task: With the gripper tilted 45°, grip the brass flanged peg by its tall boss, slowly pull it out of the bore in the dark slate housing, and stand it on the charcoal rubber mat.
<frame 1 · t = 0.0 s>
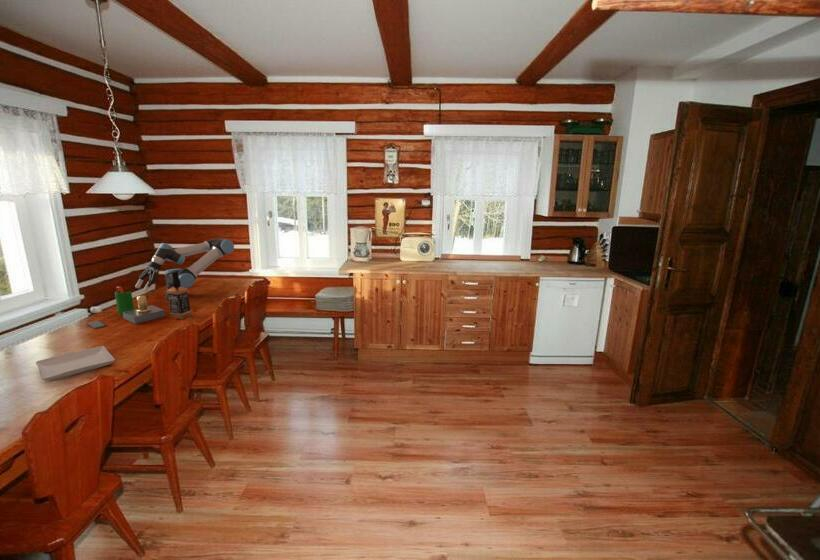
hand: (141, 289, 277), 15 cm above the table, tool tilted 35°, fingers open, 13 cm apart
brass flanged peg: (144, 317, 260), point 1 cm above the table, touching slate housing
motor: (126, 313, 272), on the table
slate housing: (145, 319, 260), on the table
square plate: (77, 367, 194), on the table
whiskey bottle: (181, 317, 265), on the table
charcoal mat: (103, 323, 252), on the table
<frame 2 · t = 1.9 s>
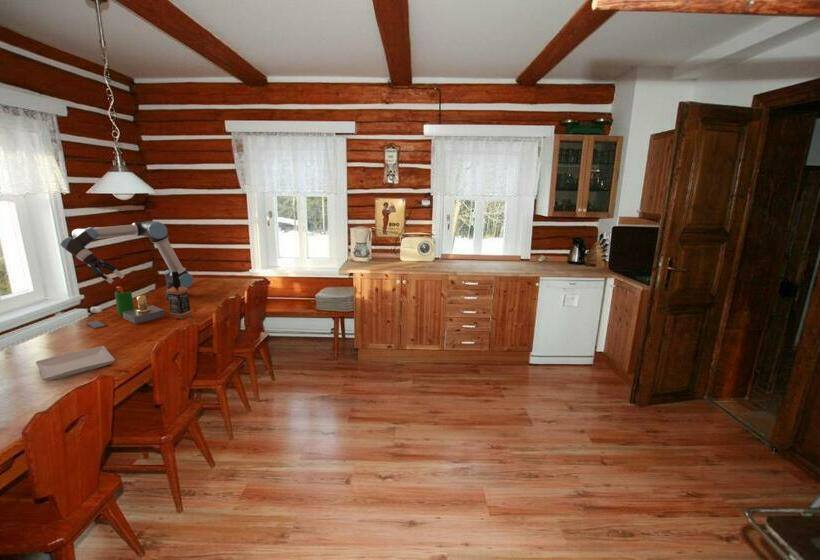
hand: (117, 279, 252), 28 cm above the table, tool tilted 45°, fingers open, 13 cm apart
nothing on the table moved.
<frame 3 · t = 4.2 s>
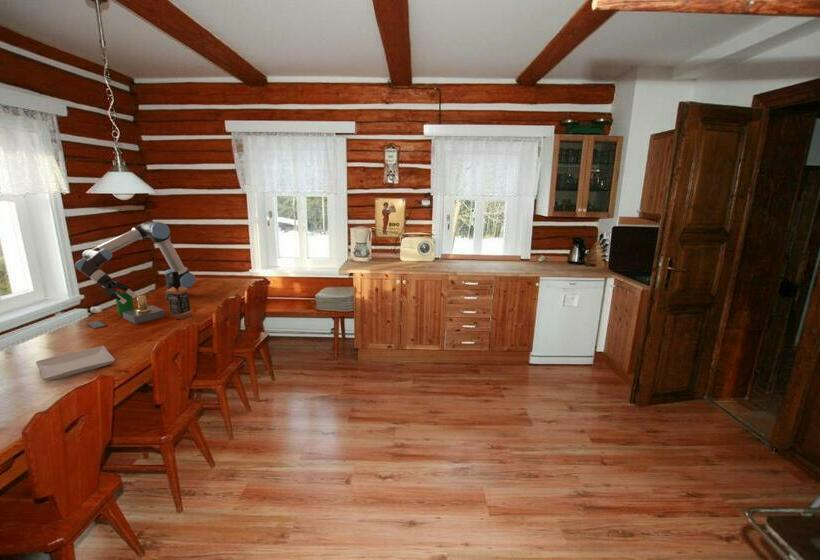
hand: (130, 299, 255), 14 cm above the table, tool tilted 45°, fingers open, 13 cm apart
nothing on the table moved.
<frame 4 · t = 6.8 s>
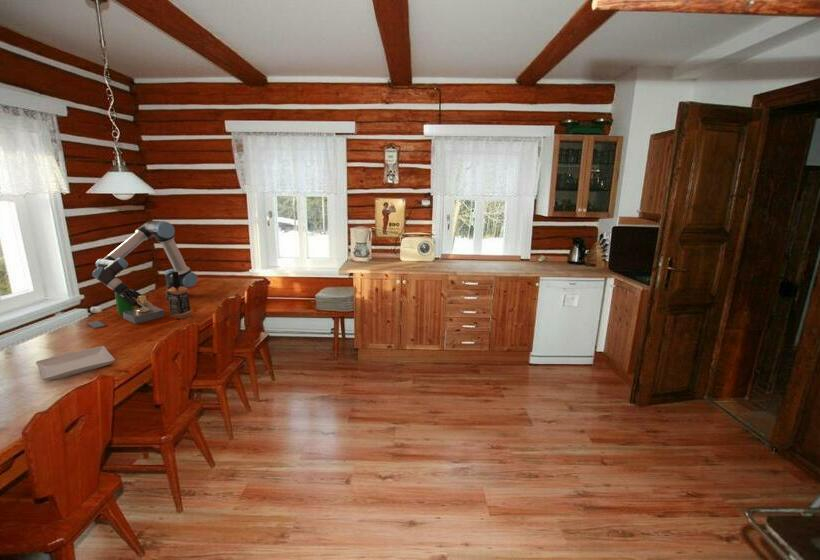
hand: (148, 308, 259), 8 cm above the table, tool tilted 45°, fingers closed on brass flanged peg, 7 cm apart
brass flanged peg: (144, 317, 260), point 1 cm above the table, touching gripper, slate housing
everything else where it was.
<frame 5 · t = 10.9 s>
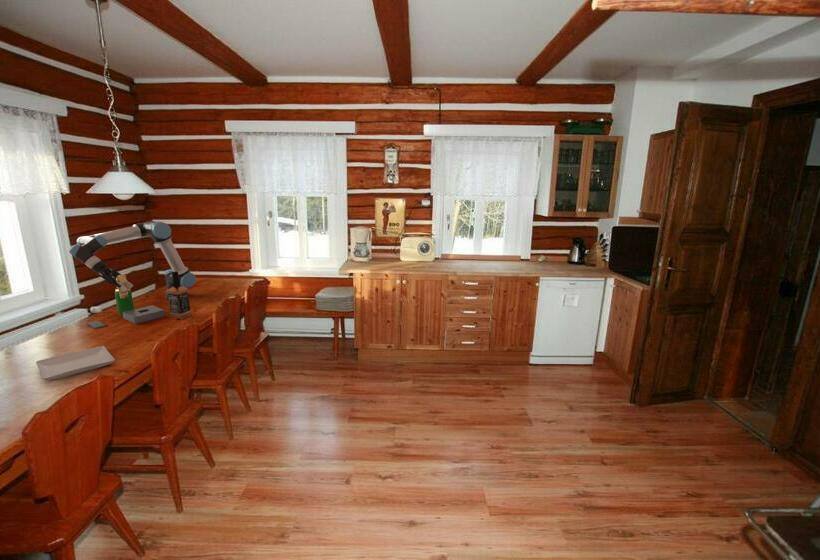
hand: (128, 288, 251), 23 cm above the table, tool tilted 45°, fingers closed on brass flanged peg, 7 cm apart
brass flanged peg: (124, 297, 252), point 17 cm above the table, touching gripper
everything else where it was.
when the fingers open (8 cm above the table, at t = 15.2 s): brass flanged peg drops 1 cm, resting on charcoal mat.
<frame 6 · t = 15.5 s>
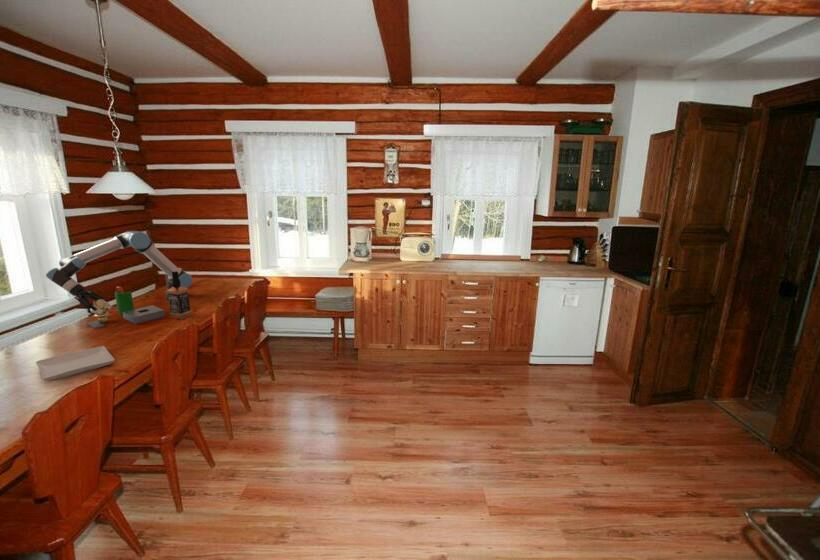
hand: (106, 310, 251), 9 cm above the table, tool tilted 45°, fingers open, 10 cm apart
brass flanged peg: (103, 322, 252), point 1 cm above the table, touching charcoal mat
everything else where it was.
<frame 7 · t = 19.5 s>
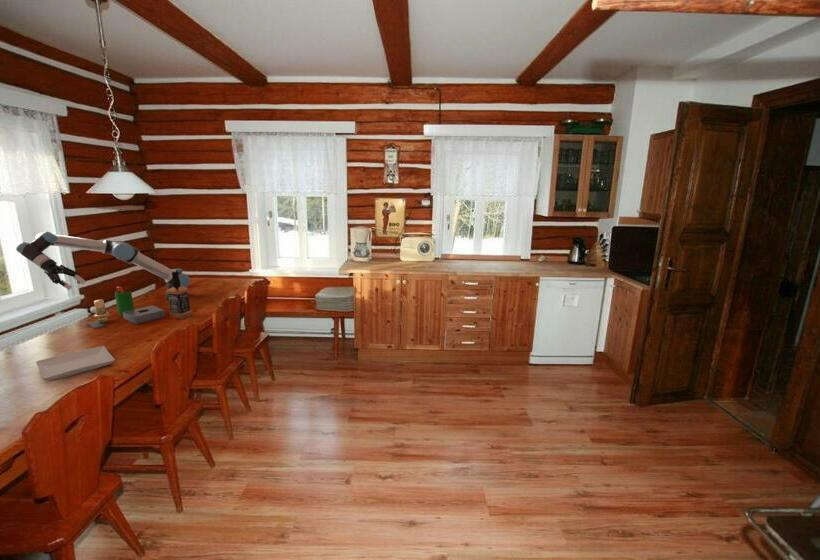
hand: (77, 285, 245), 26 cm above the table, tool tilted 45°, fingers open, 13 cm apart
nothing on the table moved.
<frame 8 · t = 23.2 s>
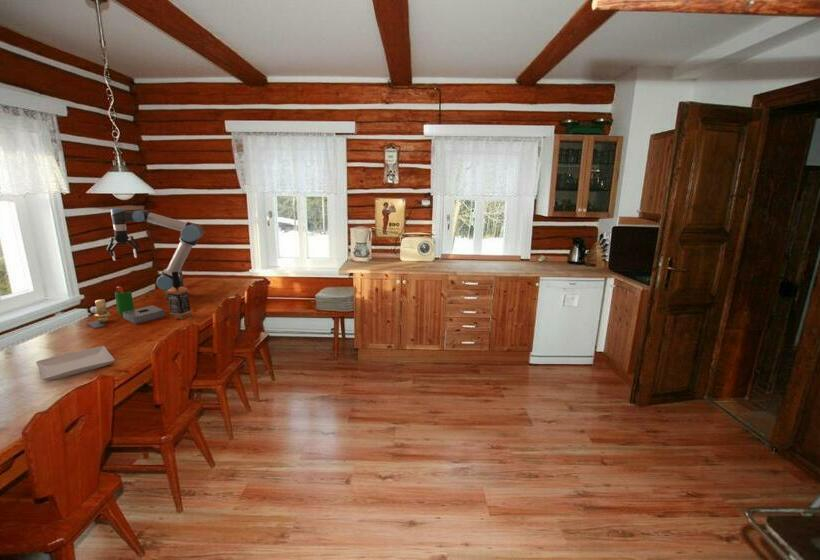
hand: (125, 259, 285), 35 cm above the table, tool pointing down, fingers open, 13 cm apart
nothing on the table moved.
at the end: brass flanged peg inside the target area on the charcoal mat (0.1 cm from its centre), point 0.9 cm above the charcoal mat's base; brass flanged peg tilted 2°; the gripper is holding nothing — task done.
